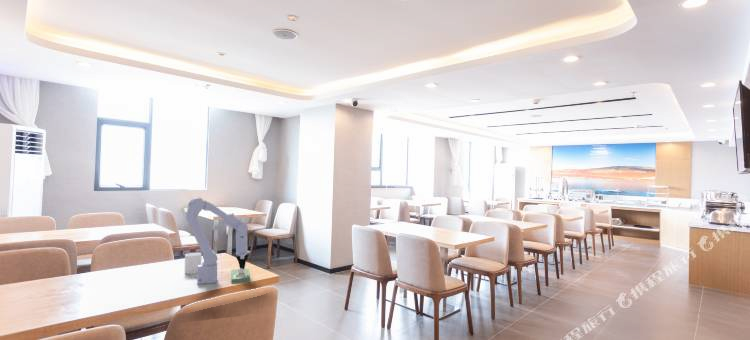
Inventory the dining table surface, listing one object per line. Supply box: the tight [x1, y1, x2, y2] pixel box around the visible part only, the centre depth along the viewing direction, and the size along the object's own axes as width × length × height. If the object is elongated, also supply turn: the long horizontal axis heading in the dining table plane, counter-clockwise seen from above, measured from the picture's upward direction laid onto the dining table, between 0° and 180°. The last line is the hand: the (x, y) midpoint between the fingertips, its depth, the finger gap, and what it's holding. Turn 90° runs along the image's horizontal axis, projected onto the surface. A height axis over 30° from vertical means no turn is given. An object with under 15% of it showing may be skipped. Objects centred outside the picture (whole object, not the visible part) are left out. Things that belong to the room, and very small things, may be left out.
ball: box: [238, 267, 246, 274], centre depth 201 cm, size 4×4×4 cm
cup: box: [184, 252, 202, 275], centre depth 210 cm, size 8×12×10 cm
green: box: [230, 268, 251, 284], centre depth 201 cm, size 9×18×2 cm, turn 21°
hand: (242, 269), depth 200 cm, fingers closed, pressing on ball
